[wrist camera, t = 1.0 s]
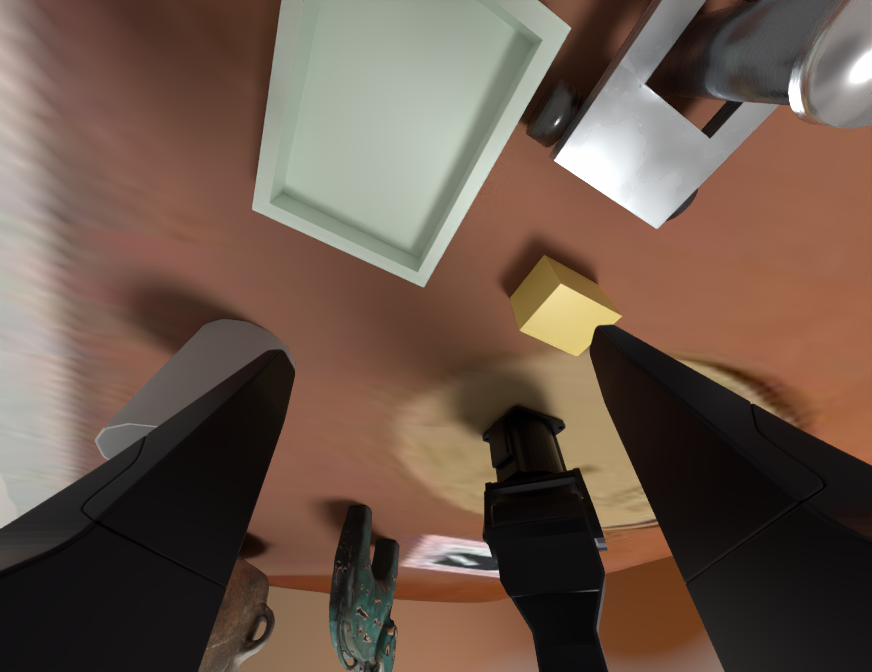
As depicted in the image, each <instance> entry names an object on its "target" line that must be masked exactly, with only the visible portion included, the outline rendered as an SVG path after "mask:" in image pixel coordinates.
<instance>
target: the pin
mask: <svg viewBox="0 0 872 672" xmlns="http://www.w3.org/2000/svg"><path fill="white" fill-rule="evenodd" d="M645 84H646V86H648V87H649V88H650V89H651V90H652V91H654V92H655V93H656V94H657V95H659V96H672V97H685V98H699V99H712V100H725V101H739V102H752V103H765V104H779V105H791V107H792V109H793V112H794V113H795V114H796V115H797V117H798V118H800V119H801V120H802V121H804V122H807V123H809V124H814V125H821V126H829V127H838V128H859V127H864V126H868V125H872V0H756V1H752V2H748V3H744V4H740V5H736V6H732V7H728V8H724V9H720V10H716V11H712V12H708V13H704V14H700V15H696V16H694V17H693V19H692V20H691V21H690V23H689V24H688V25H687V27H686V28H685V29H684V31H683V32H682V33H681V35H680V36H679V38H678V39H677V40H676V42H675V43H674V44H673V46H672V47H671V48H670V50H669V51H668V53H667V54H666V55H665V57H664V58H663V59H662V61H661V62H660V63H659V65H658V66H657V67H656V69H655V70H654V72H653V73H652V74H651V76H650V77H649V78H648V80H647V81H646V82H645Z"/></svg>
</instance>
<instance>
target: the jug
mask: <svg viewBox="0 0 872 672" xmlns="http://www.w3.org/2000/svg"><path fill="white" fill-rule="evenodd" d="M226 588H227V590H226V593H225V596H224V599H223V601H222V604H221V607H220V610H219V613H218V616H217V619H216V622H215V624H214V627H213V630H212V633H211V636H210V639H209V642H208V645H207V648H206V650H205V653H204V656H203V659H202V662H201V665H200V668H199V671H198V672H237V671H238V669H239V667H240V666H241V663H242V662H243V661H244V660H245V659H246V658H248V657H249V656H251V655H253V654H254V653H256V652H258V651H259V650H260V649H261V648H262V647H263V646H264V645H265V644H266V642H267V641H268V640H269V637H270V636H271V634H272V631H273V628H274V623H275V619H274V614H273V612H272V610H271V609H270V608H269V607H268V606H267V604H266V602H267V597H268V591H269V581H268V578H267V576H266V575H265V574H264V573H263V572H261V571H260V570H259V569H257V568H256V567H254V566H253V565H251V564H249V563H248V562H247V561H245V560H244V559H243V558H242V557H241V556H239V555H238V557H237V560H236V563H235V566H234V569H233V572H232V575H231V578H230V581H229V583H228V586H227V587H226ZM262 621H264V622H266V624H267V625H266V629H265V632H264V634H263V635H262V637H261V638H260V639H258V640H254V641H253V639H254V637H255V634H256V632H257V629H258V627H259V625H260V622H262Z"/></svg>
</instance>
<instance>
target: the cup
mask: <svg viewBox="0 0 872 672" xmlns="http://www.w3.org/2000/svg"><path fill="white" fill-rule="evenodd" d="M271 349H282V350H284V351H285V352H286V354H287V356H288V358H289V360H290V361H291V363H292V365H293V367H294V369H295V360H294V358H293V356H292V354H291V352H290V350H289V348H288V347H287V346H286V345H285V344H284V343H283V342H282V341H281V340H279V339H278V338H277V337H276V336H275V335H274V334H273V333H271V332H269V331H267V330H265V329H263V328H261V327H258V326H256V325H254V324H252V323H250V322H246V321H238V320H230V319H221V320H217V321H213V322H210V323H206V324H204V325H203V326H202V327H201V328H200V329H199V330H198V331H197V333H196V334H195V335H194V336H193V337H192V338H191V339H190V340H189V341H188V342H187V343H186V344H185V345H184V346H183V347H182V348H181V349H180V350H179V351H178V352H177V353H176V354H175V355H174V356H173V357H172V358H171V359H170V360H169V361H168V362H167V363H166V364H165V365H164V366H163V367H162V368H161V369H160V371H159V372H158V373H157V374H156V375H155V376H154V377H153V378H152V379H151V380H150V381H149V382H148V383H147V384H146V385H145V386H144V387H143V388H142V389H141V390H140V391H139V392H138V393H137V394H136V395H135V396H134V397H133V398H132V399H131V400H130V401H129V402H128V403H127V404H126V405H125V406H124V407H123V408H122V410H121V411H120V412H119V413H118V414H117V415H116V416H115V417H114V418H113V419H112V420H111V421H110V422H109V423H108V424H107V425H106V426H105V427H104V428H103V429H102V431H101V432H100V433H99V435H98V436H97V438H96V439H95V440H94V441H95V443H96V444H97V446H98V448H99V450H100V452H101V454H102V456H103V457H105V458H106V459H107V460H110V459H111V458H113V457H114V456H116V455H117V454H118V453H120V452H121V451H123V450H124V449H126V448H127V447H129V446H130V445H132V444H133V443H135V442H136V441H137V440H139V439H140V438H142V437H143V436H147V434H148V433H149V432H150V431H152V430H153V429H155V428H156V427H158V426H159V425H161V424H162V423H163V422H165V421H166V420H168V419H169V418H171V417H172V416H173V415H175V414H176V413H178V412H179V411H181V410H182V409H184V408H185V407H186V406H188V405H189V404H191V403H192V402H194V401H195V400H197V399H198V398H199V397H201V396H202V395H204V394H205V393H207V392H208V391H209V390H211V389H212V388H214V387H215V386H217V385H218V384H220V383H221V382H222V381H224V380H225V379H227V378H228V377H230V376H231V375H232V374H234V373H235V372H237V371H238V370H240V369H241V368H243V367H244V366H245V365H247V364H248V363H250V362H251V361H253V360H254V359H255V358H257V357H258V356H260V355H261V354H263V353H264V352H266V351H267V350H271Z"/></svg>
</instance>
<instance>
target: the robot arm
mask: <svg viewBox="0 0 872 672" xmlns="http://www.w3.org/2000/svg"><path fill="white" fill-rule="evenodd" d="M590 357H591V360H592V363H593V367H594V370H595V373H596V377H597V380H598V383H599V386H600V390H601V393H602V396H603V399H604V402H605V404H606V407H607V409H608V412H609V414H610V416H611V418H612V421H613V423H614V425H615V427H616V430H617V432H618V434H619V436H620V438H621V441H622V443H623V445H624V447H625V450H626V452H627V454H628V456H629V459H630V461H631V463H632V465H633V467H634V470H635V472H636V474H637V476H638V479H639V481H640V483H641V485H642V488H643V490H644V492H645V494H646V497H647V499H648V501H649V503H650V505H651V508H652V510H653V512H654V514H655V517H656V519H657V521H658V523H659V526H660V528H661V530H662V532H663V535H664V537H665V539H666V541H667V543H668V546H669V548H670V550H671V552H672V555H673V557H674V559H675V561H676V563H677V566H678V568H679V570H680V572H681V575H682V577H683V579H684V581H685V582H686V586H687V589H688V591H689V593H690V595H691V598H692V600H693V602H694V604H695V607H696V609H697V611H698V613H699V615H700V618H701V619H702V622H703V624H704V627H705V629H706V631H707V633H708V636H709V638H710V640H711V642H712V645H713V647H714V649H715V651H716V653H717V656H718V658H719V660H720V662H721V664H722V667H723V669H724V671H725V672H872V465H870V464H868V463H866V462H864V461H862V460H860V459H858V458H856V457H854V456H852V455H850V454H848V453H846V452H844V451H841V450H840V449H838V448H836V447H834V446H832V445H830V444H828V443H826V442H824V441H822V440H820V439H818V438H816V437H814V436H812V435H810V434H808V433H806V432H804V431H802V430H801V429H799V428H797V427H795V426H793V425H791V424H790V423H788V422H786V421H784V420H782V419H780V418H779V417H777V416H775V415H773V414H771V413H770V412H768V411H766V410H764V409H762V408H761V407H759V406H757V405H755V404H751V403H750V401H748V400H746V399H745V398H743V397H741V396H739V395H737V394H736V393H734V392H732V391H730V390H729V389H727V388H725V387H723V386H722V385H720V384H718V383H716V382H714V381H713V380H711V379H709V378H707V377H706V376H704V375H702V374H700V373H698V372H697V371H695V370H693V369H691V368H690V367H688V366H686V365H684V364H683V363H681V362H679V361H677V360H675V359H674V358H672V357H670V356H668V355H667V354H665V353H663V352H661V351H659V350H658V349H656V348H654V347H652V346H651V345H649V344H647V343H645V342H643V341H642V340H640V339H638V338H636V337H635V336H633V335H631V334H629V333H628V332H626V331H624V330H622V329H620V328H619V327H617V326H615V325H612V324H608V325H598V326H597V327H596V328H595V330H594V334H593V338H592V341H591V345H590ZM294 378H295V370H294V367H293V365H292V363H291V361H290V360H289V358H288V356H287V354H286V352H285V351H284V350H282V349H271V350H267V351H266V352H264V353H263V354H261V355H260V356H258V357H257V358H255V359H254V360H253V361H251V362H250V363H248V364H247V365H245V366H244V367H243V368H241V369H240V370H238V371H237V372H235V373H234V374H232V375H231V376H230V377H228V378H227V379H225V380H224V381H222V382H221V383H220V384H218V385H217V386H215V387H214V388H212V389H211V390H209V391H208V392H207V393H205V394H204V395H202V396H201V397H199V398H198V399H197V400H195V401H194V402H192V403H191V404H189V405H188V406H186V407H185V408H184V409H182V410H181V411H179V412H178V413H176V414H175V415H173V416H172V417H171V418H169V419H168V420H166V421H165V422H163V423H162V424H161V425H159V426H158V427H156V428H155V429H153V430H152V431H150V432H149V433H148V434H147V436H143V437H142V438H140V439H139V440H137V441H136V442H135V443H133V444H132V445H130V446H129V447H127V448H126V449H124V450H123V451H121V452H120V453H118V454H117V455H116V456H114V457H113V458H111V459H110V460H108V461H107V462H105V463H104V464H102V465H101V466H99V467H97V468H96V469H94V470H93V471H91V472H90V473H88V474H87V475H85V476H83V477H82V478H80V479H79V480H77V481H76V482H74V483H73V484H71V485H69V486H68V487H66V488H65V489H63V490H61V491H60V492H58V493H57V494H55V495H54V496H52V497H50V498H49V499H47V500H46V501H44V502H42V503H41V504H39V505H38V506H36V507H35V508H33V509H31V510H30V511H28V512H27V513H25V514H23V515H22V516H20V517H19V518H17V519H16V520H14V521H12V522H11V523H9V524H8V525H6V526H4V527H3V528H1V529H0V672H198V671H199V668H200V665H201V662H202V659H203V656H204V653H205V650H206V648H207V645H208V642H209V639H210V636H211V633H212V630H213V627H214V624H215V622H216V619H217V616H218V613H219V610H220V607H221V604H222V601H223V599H224V596H225V593H226V590H227V588H226V587H227V586H228V583H229V581H230V578H231V575H232V572H233V569H234V566H235V563H236V560H237V557H238V554H239V552H240V549H241V546H242V543H243V540H244V537H245V534H246V531H247V528H248V526H249V523H250V520H251V517H252V514H253V511H254V508H255V505H256V502H257V500H258V497H259V494H260V491H261V488H262V485H263V482H264V479H265V476H266V473H267V471H268V468H269V465H270V462H271V459H272V456H273V453H274V450H275V447H276V445H277V442H278V439H279V436H280V433H281V430H282V427H283V424H284V421H285V417H286V413H287V409H288V404H289V400H290V395H291V391H292V387H293V382H294ZM564 429H565V424H564V422H561V421H559V420H556V419H553V418H551V417H548V416H545V415H543V414H540V413H537V412H535V411H532V410H529V409H527V408H524V407H521V406H514V407H513V408H512V409H511V410H509V411H508V412H507V413H506V414H505V415H504V416H503V417H502V418H501V419H500V420H499V421H498V422H497V423H495V424H494V425H493V426H492V427H491V428H490V429H489V430H488V431H487V432H486V433H485V434H484V435H483V436H482V437H483V441H485V442H488V443H489V444H490V452H491V460H492V466H493V468H496V474H497V482H495V483H491V482H488V483H485V491H484V526H483V540H484V542H486V543H487V544H488V546H489V549H490V552H491V555H492V557H493V559H494V561H495V562H498V567H499V574H500V581H501V583H502V585H503V587H504V589H505V590H506V592H507V594H508V595H509V597H511V599H512V600H513V602H514V603H515V605H516V607H517V608H518V610H519V611H520V613H521V615H522V616H523V618H524V620H525V621H526V623H527V624H528V626H529V628H530V629H531V631H532V634H533V639H534V643H535V650H536V656H537V662H538V667H539V672H609V670H608V666H607V663H606V659H605V656H604V652H603V648H602V645H601V641H600V638H599V634H598V630H599V624H600V618H601V612H602V606H603V599H604V594H605V588H606V580H605V571H604V567H603V564H602V561H601V558H600V555H599V551H600V552H602V551H607V546H606V542H605V539H604V535H603V532H602V529H601V526H600V523H599V520H598V517H597V514H596V511H595V509H594V506H593V503H592V501H591V498H590V495H589V493H588V490H587V488H586V485H585V482H584V480H583V477H582V475H581V472H580V469H579V468H574V469H573V470H568V471H567V469H566V466H565V463H564V460H563V457H562V454H561V450H560V447H559V444H558V441H557V438H556V435H557V434H558V433H560V432H561V431H562V430H564Z"/></svg>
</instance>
